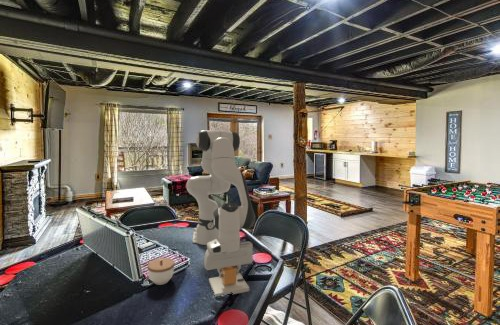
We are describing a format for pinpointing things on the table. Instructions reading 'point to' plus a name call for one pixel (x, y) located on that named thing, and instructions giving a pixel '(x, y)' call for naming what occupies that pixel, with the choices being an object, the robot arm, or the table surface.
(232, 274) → the orange cube with dome
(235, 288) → the plate
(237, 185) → the robot arm
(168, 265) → the lidded jar
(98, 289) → the table surface
